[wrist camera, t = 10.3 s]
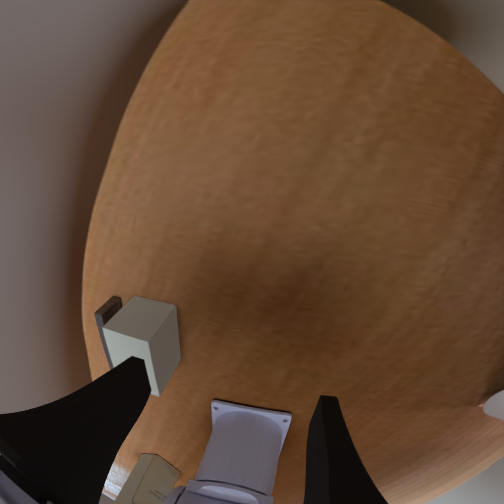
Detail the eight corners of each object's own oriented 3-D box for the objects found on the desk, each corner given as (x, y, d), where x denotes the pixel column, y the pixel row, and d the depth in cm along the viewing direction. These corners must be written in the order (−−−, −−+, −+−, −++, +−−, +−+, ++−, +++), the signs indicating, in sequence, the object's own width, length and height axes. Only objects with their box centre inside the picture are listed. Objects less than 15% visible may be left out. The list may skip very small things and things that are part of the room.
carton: (176, 304, 22) (148, 341, 18) (181, 358, 25) (159, 396, 20) (133, 294, 23) (100, 326, 18) (142, 347, 25) (117, 381, 21)
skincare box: (181, 471, 36) (158, 526, 25) (164, 470, 38) (140, 521, 27) (156, 453, 35) (127, 510, 24) (139, 452, 36) (111, 504, 25)
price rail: (135, 363, 26) (122, 382, 23) (126, 360, 26) (112, 378, 24) (122, 298, 23) (103, 315, 20) (111, 295, 23) (92, 312, 21)
